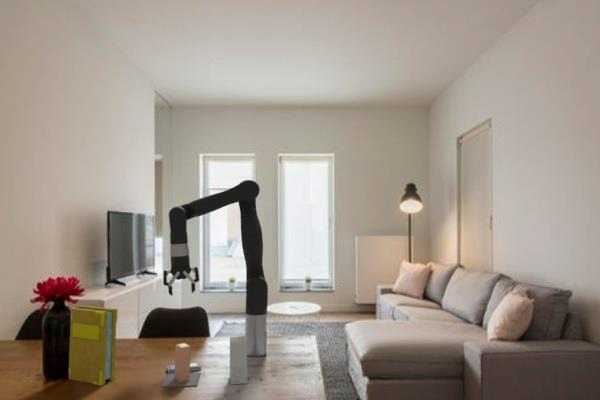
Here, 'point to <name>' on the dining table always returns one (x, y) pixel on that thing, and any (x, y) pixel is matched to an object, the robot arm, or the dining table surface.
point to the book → (92, 344)
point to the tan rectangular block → (182, 362)
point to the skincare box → (238, 360)
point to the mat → (172, 382)
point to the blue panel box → (193, 367)
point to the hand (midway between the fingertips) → (182, 293)
